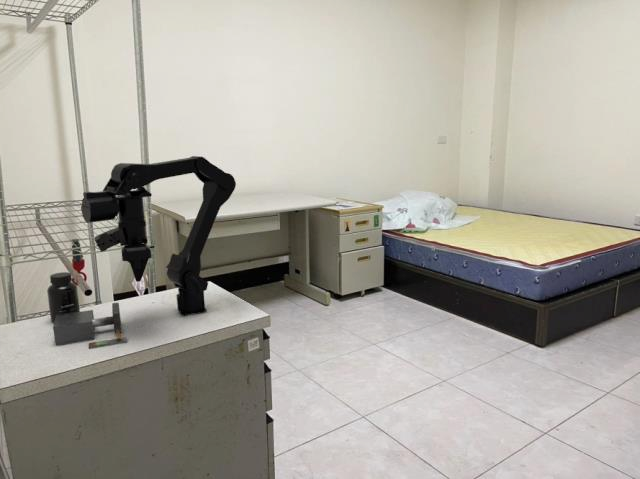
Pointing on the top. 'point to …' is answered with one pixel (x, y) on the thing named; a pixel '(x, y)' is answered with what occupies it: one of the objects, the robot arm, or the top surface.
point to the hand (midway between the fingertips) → (138, 279)
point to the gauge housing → (79, 330)
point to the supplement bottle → (62, 295)
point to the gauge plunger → (111, 320)
